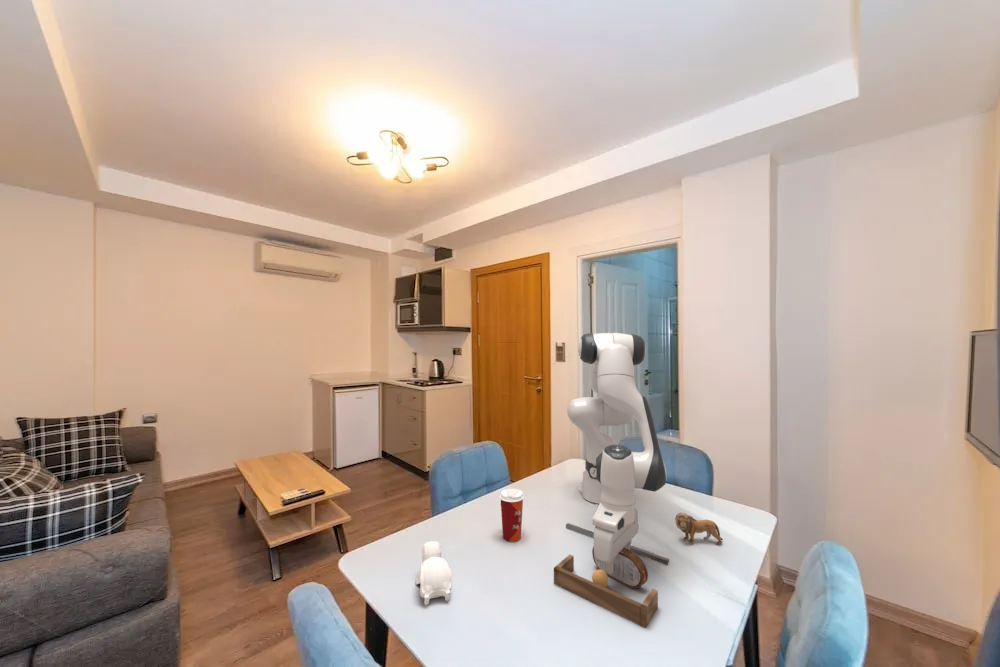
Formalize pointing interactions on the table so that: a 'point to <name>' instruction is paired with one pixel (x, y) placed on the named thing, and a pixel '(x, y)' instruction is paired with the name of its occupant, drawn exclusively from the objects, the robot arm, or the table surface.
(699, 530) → the lion figurine
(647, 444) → the robot arm
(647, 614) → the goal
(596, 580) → the ball
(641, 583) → the tin
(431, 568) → the white animal figurine
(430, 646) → the table surface
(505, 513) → the paper cup
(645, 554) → the rail
